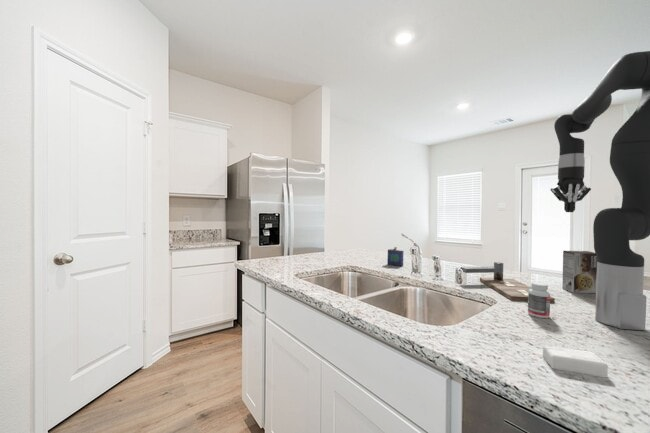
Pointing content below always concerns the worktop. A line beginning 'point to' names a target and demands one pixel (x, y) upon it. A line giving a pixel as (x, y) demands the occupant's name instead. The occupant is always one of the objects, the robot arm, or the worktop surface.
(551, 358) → the soap
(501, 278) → the swing arm
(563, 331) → the worktop surface
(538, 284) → the pill bottle
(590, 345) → the worktop surface
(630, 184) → the robot arm
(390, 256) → the flask
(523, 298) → the label board
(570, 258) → the coffee box
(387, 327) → the worktop surface
